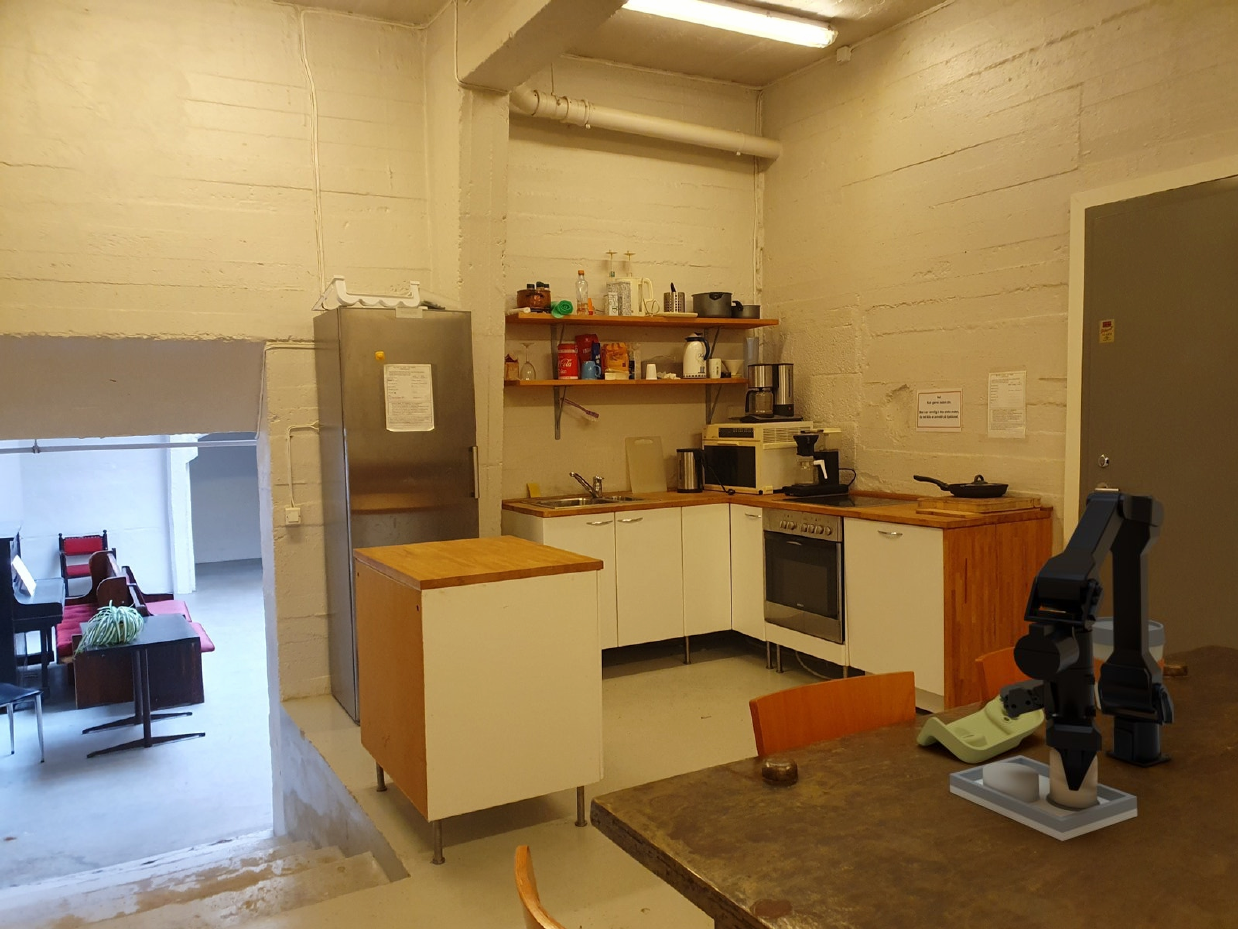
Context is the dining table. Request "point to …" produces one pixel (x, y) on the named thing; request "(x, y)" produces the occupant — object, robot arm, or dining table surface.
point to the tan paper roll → (1059, 786)
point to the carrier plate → (1038, 798)
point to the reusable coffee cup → (1105, 645)
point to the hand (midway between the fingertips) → (1072, 781)
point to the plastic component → (981, 732)
